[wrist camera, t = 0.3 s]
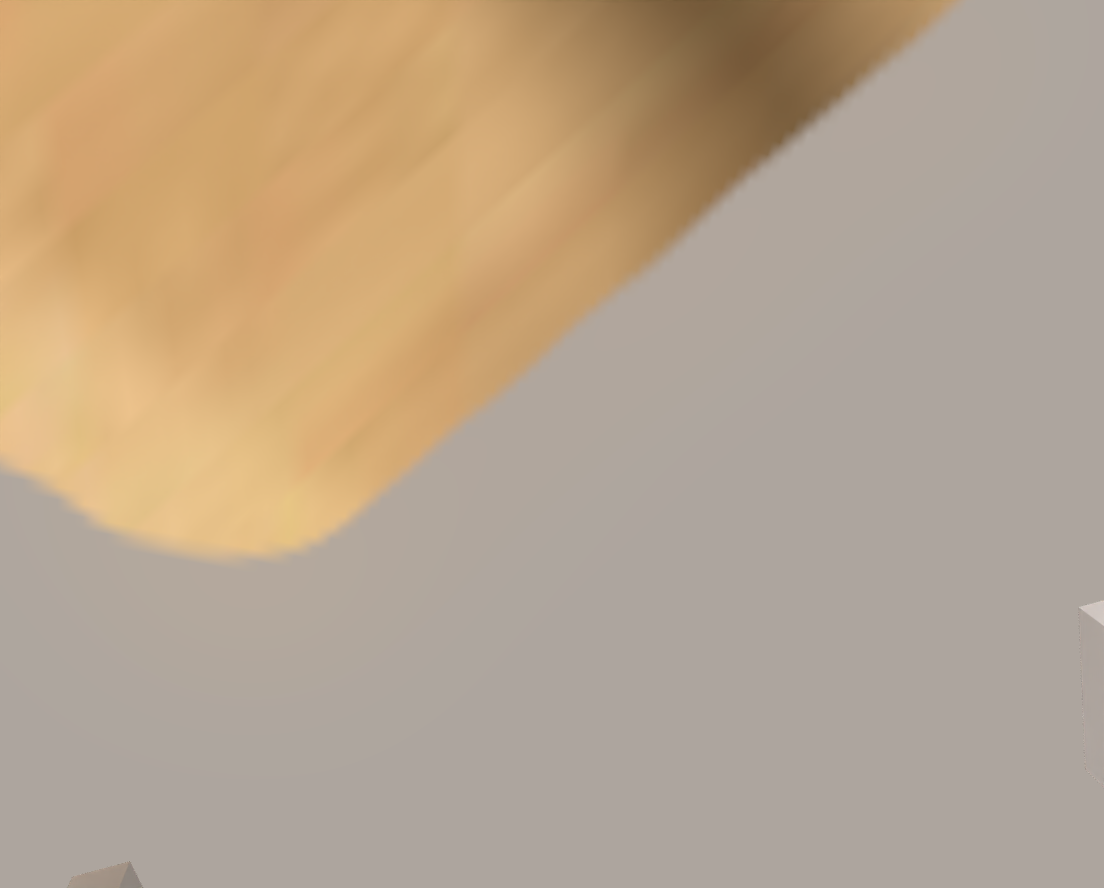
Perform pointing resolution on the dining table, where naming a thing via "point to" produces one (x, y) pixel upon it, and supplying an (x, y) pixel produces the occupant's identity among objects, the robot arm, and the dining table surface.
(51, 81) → the dining table surface
